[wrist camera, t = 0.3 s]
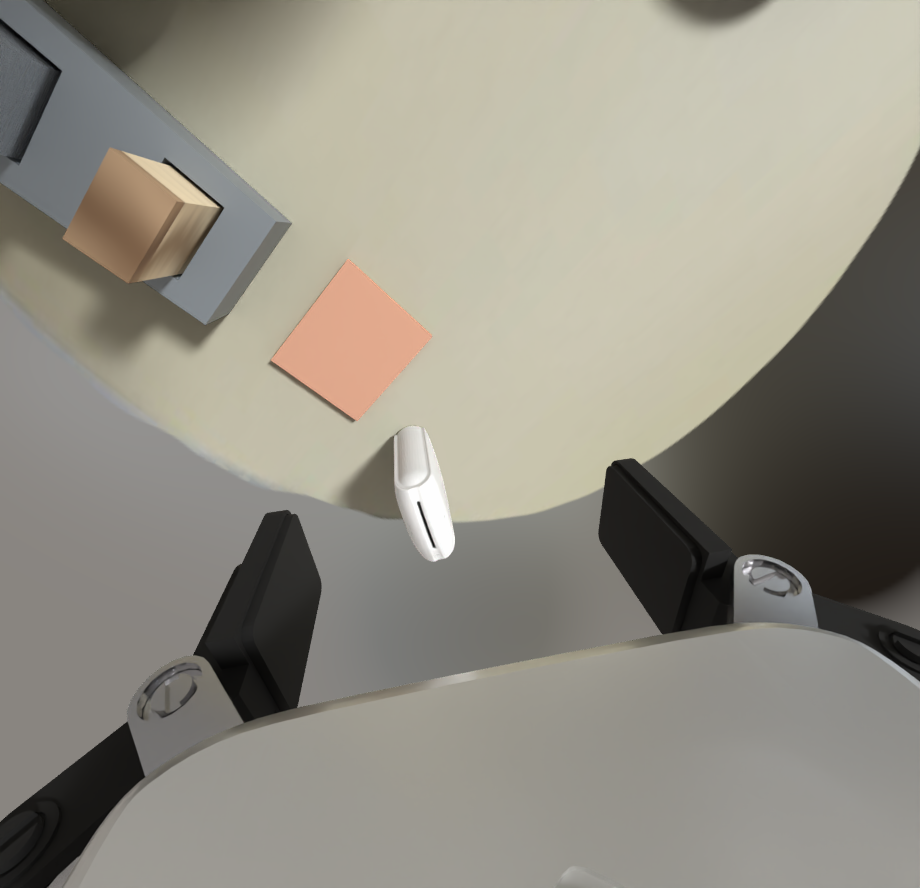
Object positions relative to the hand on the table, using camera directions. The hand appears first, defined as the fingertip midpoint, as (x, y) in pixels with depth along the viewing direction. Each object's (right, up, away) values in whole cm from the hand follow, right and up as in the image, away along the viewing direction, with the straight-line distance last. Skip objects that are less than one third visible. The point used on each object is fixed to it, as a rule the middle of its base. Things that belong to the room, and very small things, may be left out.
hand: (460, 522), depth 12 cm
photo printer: (-5, 0, +34) cm, 34 cm away
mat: (-11, +12, +26) cm, 31 cm away
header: (-25, +23, +18) cm, 38 cm away
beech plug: (-21, +21, +20) cm, 36 cm away
